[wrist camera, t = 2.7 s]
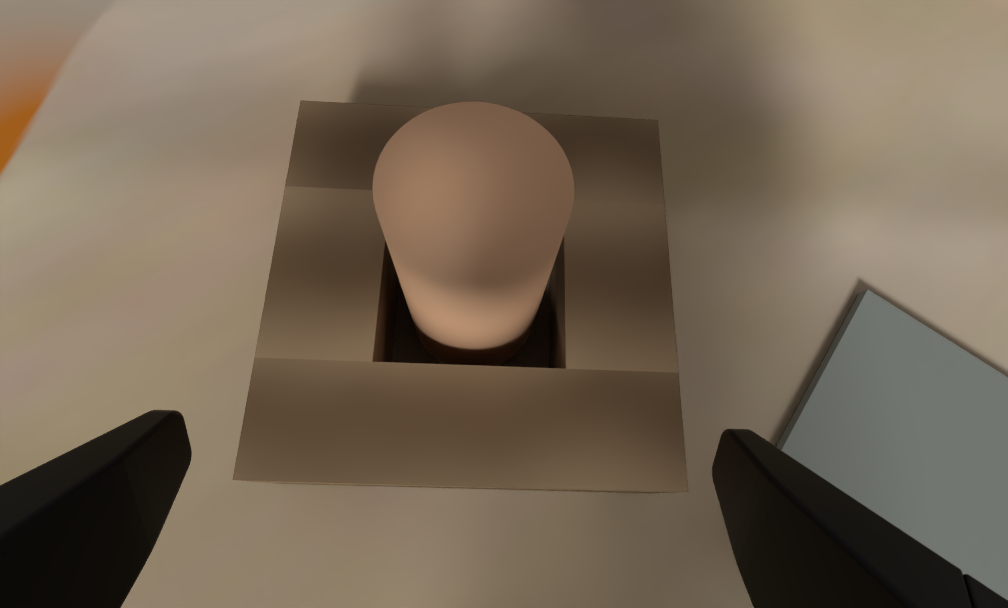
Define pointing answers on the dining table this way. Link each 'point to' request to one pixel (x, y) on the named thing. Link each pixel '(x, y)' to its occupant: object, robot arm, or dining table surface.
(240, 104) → the dining table surface
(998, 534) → the pad
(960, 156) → the dining table surface
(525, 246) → the peg
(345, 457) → the pocket block
